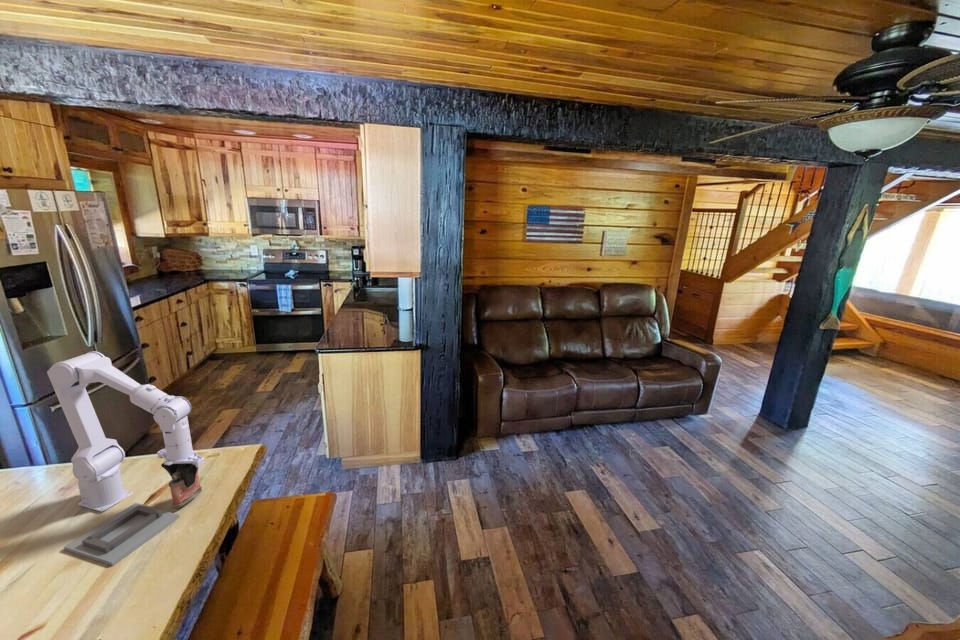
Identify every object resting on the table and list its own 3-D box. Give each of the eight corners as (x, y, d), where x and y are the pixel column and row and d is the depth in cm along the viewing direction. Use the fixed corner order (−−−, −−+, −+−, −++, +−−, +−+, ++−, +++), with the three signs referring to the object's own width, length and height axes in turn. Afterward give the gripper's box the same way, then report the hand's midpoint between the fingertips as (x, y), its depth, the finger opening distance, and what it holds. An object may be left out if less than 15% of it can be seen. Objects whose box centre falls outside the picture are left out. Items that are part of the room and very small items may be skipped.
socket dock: (64, 550, 94) (62, 541, 93) (136, 505, 109) (134, 498, 108) (112, 566, 90) (110, 557, 90) (179, 517, 105) (178, 510, 105)
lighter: (179, 508, 106) (173, 478, 104) (169, 506, 107) (163, 476, 104) (204, 489, 114) (199, 460, 111) (195, 487, 114) (190, 458, 112)
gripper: (142, 443, 104) (150, 486, 107) (184, 453, 100) (191, 497, 103) (168, 431, 110) (175, 471, 113) (208, 439, 107) (214, 481, 110)
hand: (185, 482), depth 109 cm, fingers closed on lighter, 3 cm apart
